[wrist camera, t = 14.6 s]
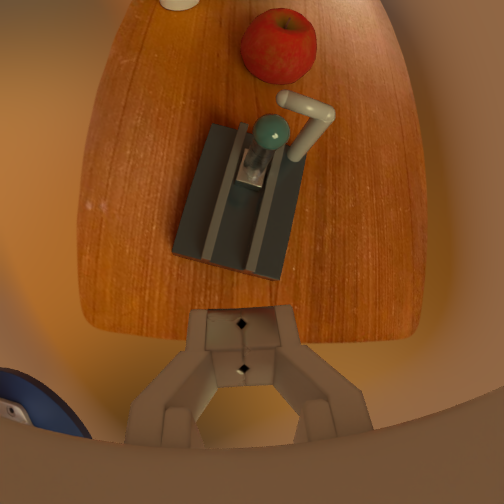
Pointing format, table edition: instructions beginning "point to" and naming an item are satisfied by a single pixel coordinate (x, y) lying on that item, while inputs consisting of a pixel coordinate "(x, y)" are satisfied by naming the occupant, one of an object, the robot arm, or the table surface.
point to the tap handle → (262, 150)
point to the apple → (279, 46)
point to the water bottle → (178, 4)
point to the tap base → (247, 197)
